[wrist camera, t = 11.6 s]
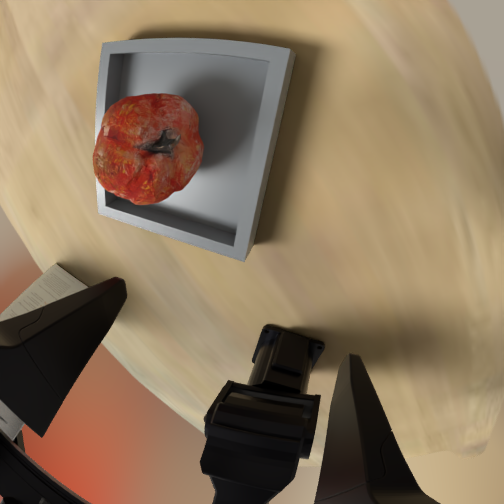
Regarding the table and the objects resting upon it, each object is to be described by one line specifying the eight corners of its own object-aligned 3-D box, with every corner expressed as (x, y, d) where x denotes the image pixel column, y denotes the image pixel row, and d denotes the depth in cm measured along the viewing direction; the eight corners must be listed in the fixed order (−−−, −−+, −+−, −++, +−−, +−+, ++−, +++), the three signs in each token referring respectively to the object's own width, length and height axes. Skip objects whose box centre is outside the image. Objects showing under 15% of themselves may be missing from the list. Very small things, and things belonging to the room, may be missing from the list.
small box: (59, 290, 38) (7, 343, 27) (55, 261, 34) (-6, 318, 23) (96, 317, 38) (45, 379, 27) (95, 290, 34) (34, 357, 23)
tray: (253, 245, 24) (244, 262, 22) (114, 202, 25) (98, 213, 23) (296, 54, 15) (290, 48, 13) (122, 43, 17) (102, 42, 15)
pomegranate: (169, 181, 24) (231, 215, 17) (88, 194, 20) (110, 240, 13) (172, 97, 21) (240, 90, 14) (85, 101, 17) (104, 86, 10)
